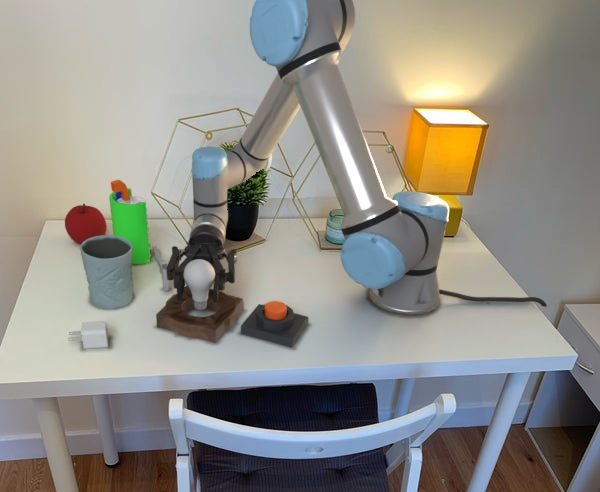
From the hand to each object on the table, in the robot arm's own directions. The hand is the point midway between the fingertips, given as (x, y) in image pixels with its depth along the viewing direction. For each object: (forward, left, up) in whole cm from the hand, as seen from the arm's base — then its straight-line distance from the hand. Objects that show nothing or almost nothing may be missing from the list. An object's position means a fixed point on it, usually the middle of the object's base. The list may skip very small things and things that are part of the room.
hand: (197, 295), depth 125 cm
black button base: (-13, -8, -9) cm, 17 cm away
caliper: (+23, -9, -10) cm, 26 cm away
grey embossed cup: (+22, -4, -9) cm, 24 cm away
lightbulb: (+2, -5, -7) cm, 8 cm away
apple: (+41, -23, -9) cm, 48 cm away
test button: (-13, -8, -5) cm, 16 cm away
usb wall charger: (+17, +12, -9) cm, 23 cm away
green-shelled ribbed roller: (+28, -22, -9) cm, 36 cm away
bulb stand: (+2, -5, -9) cm, 10 cm away
